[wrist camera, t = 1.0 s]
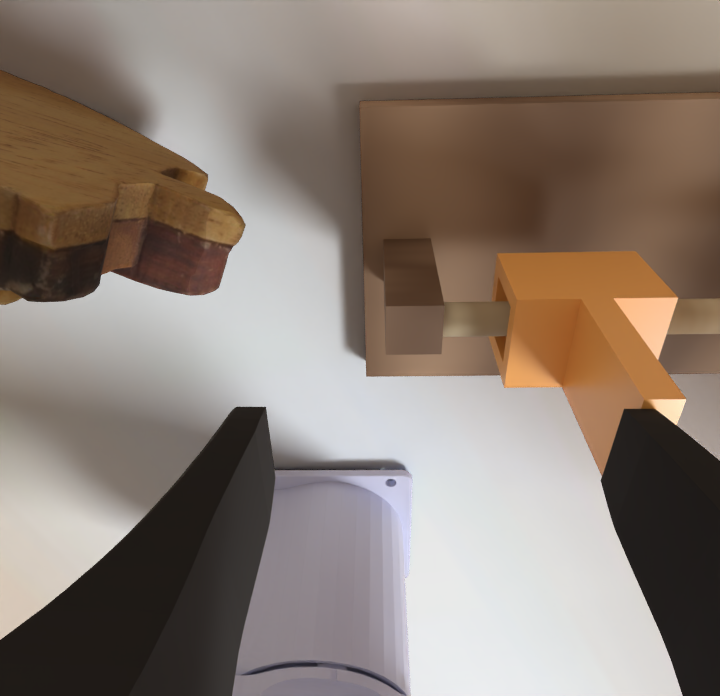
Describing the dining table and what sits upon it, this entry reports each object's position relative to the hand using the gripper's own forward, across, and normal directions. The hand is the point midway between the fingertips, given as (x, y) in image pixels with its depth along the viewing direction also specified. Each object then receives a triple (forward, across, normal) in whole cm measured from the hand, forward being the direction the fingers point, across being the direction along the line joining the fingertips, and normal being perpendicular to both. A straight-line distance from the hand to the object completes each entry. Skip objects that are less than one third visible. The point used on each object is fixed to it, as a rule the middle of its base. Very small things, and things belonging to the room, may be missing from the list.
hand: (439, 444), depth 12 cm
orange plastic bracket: (+7, -4, 0) cm, 8 cm away
